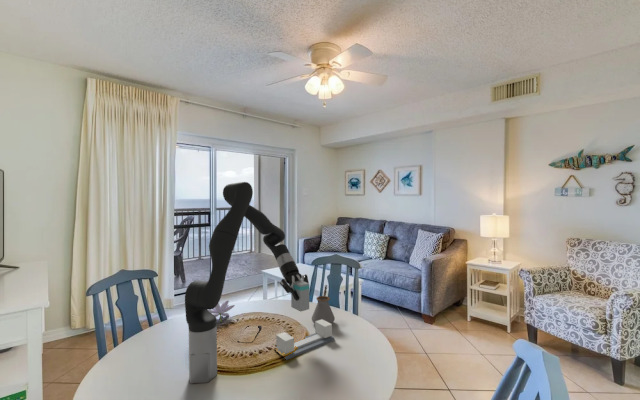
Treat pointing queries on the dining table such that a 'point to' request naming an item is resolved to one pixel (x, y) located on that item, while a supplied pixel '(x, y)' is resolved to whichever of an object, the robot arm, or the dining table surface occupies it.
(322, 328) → the rail panel
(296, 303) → the block
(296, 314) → the dining table surface
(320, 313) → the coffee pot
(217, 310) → the water lily
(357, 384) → the dining table surface
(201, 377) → the robot arm
